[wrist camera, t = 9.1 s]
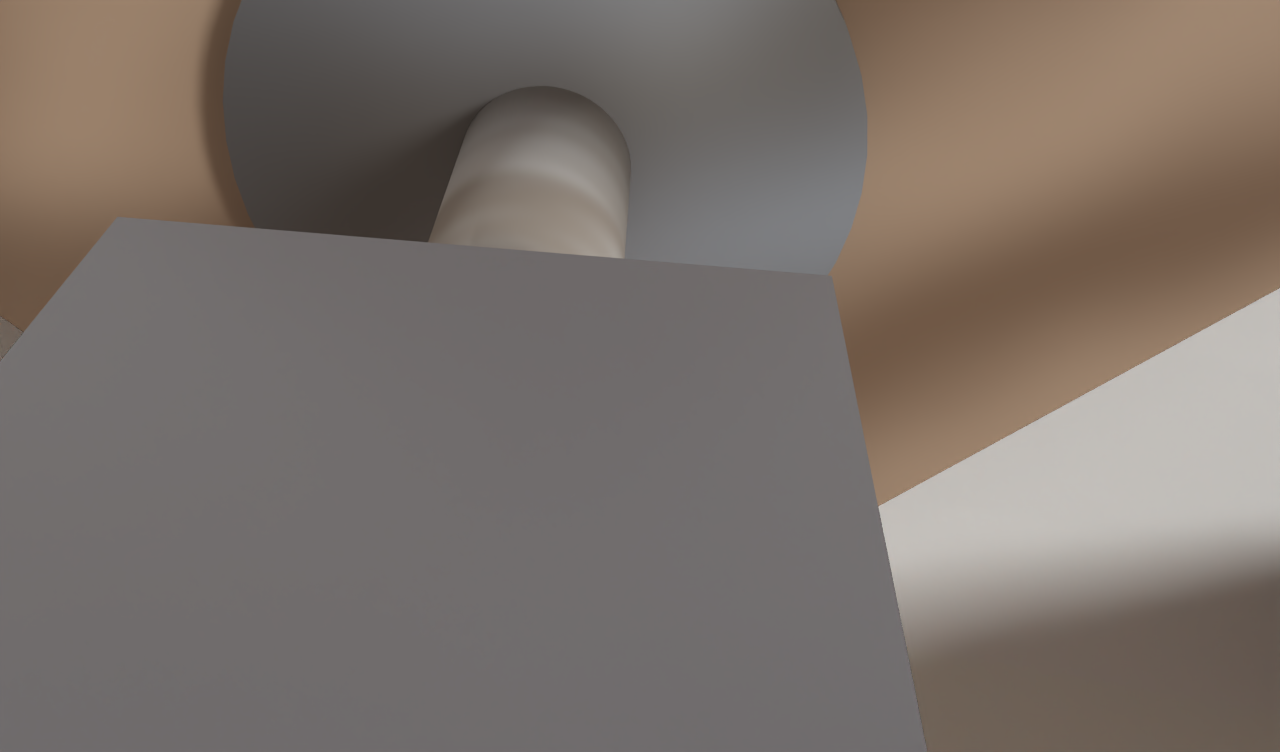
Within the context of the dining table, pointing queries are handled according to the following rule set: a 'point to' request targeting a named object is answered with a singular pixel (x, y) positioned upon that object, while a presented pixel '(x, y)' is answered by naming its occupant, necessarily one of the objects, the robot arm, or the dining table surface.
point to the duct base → (704, 162)
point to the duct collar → (437, 506)
